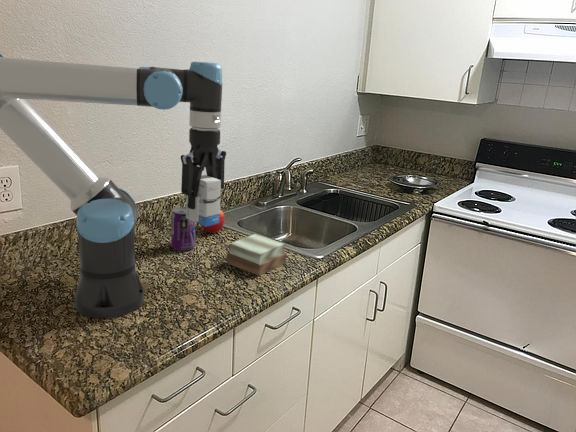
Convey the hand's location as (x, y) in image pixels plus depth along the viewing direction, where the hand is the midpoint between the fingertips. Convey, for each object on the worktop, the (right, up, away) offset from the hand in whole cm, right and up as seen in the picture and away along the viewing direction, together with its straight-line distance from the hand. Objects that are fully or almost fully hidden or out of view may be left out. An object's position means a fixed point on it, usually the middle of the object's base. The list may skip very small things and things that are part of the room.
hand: (202, 217), depth 126 cm
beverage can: (-9, -9, +21) cm, 25 cm away
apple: (-3, -5, +35) cm, 36 cm away
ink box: (0, -1, 0) cm, 1 cm away
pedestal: (+13, -13, +13) cm, 23 cm away
